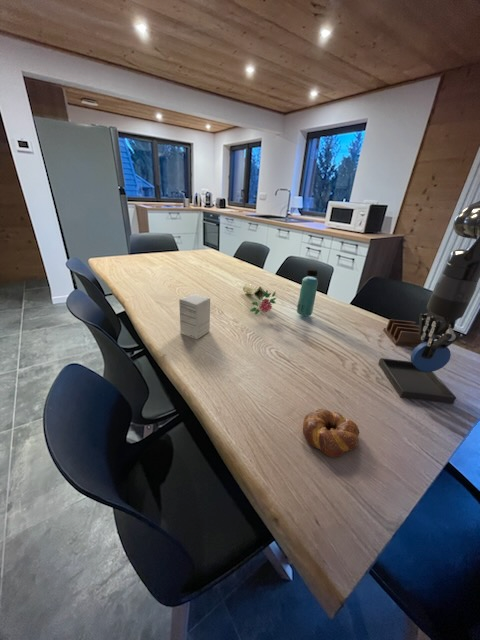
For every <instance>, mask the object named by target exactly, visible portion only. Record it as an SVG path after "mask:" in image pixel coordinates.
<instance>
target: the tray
mask: <svg viewBox="0 0 480 640" xmlns="http://www.w3.org/2000/svg"><path fill="white" fill-rule="evenodd" d="M378 365H379V367H380V369H381V370H382V372H383V373H384V375H385V376H386V378H387V379H388V381H389V383H390V384H391V385H392V387H393V388H394V390H395V392H396V393H397V394H398V396H399V397H400V398H402V399H410V400H419V401H426V402H434V403H435V402H436V403H443V404H451V405H453V404H454V403H455V401H456V400H457V396H456V395H455V394H454V393H453V392H452V391H451V390H450V389H449V388H448V387H447V386H446V385H445V384H444V383H443V382H442V380H441V379H440V378H439V376H437V375H436V374H435V373H434V371H432V372H424V371H421V370H419V369H417V368H416V367H415V366H414V365H413V363H412V362H411V360H410V361H409V360H401V359H400V360H399V359H391V358H382V357H380V358H379V360H378Z"/></svg>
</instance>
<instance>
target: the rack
mask: <svg viewBox="0 0 480 640" xmlns="http://www.w3.org/2000/svg"><path fill="white" fill-rule="evenodd" d="M383 332H384V334H386V336H387V337H388V338H389V339H390V340H391V342H392V343H393V344H394V345H395V346H404V347H412V348H416V347H417V346H418V345H420V344H421V341H422V340H421V335H419V334H418V332H419V324H418V325H417V322H416V321H410V320H401V319H391V318H390V319H389V320H388V322H387V325H386V327H384V328H383Z"/></svg>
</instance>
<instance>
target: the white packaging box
mask: <svg viewBox="0 0 480 640" xmlns="http://www.w3.org/2000/svg"><path fill="white" fill-rule="evenodd" d="M178 302H179V303H178V304H179V305H178V306H179V329H180V330H179V333H180V334H182V335H185V336H186V337H189V338H192V339H194V340H198V339H200V338H201V337H203V336H205V335H206V334H207V333H209V332H210V328H211V327H210V326H211V298H210V297H208V296H204V295H201V294H198V293H194V292H192V293H191V294H189V295H186V296H184V297H181V298H179V300H178Z"/></svg>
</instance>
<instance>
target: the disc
mask: <svg viewBox="0 0 480 640" xmlns="http://www.w3.org/2000/svg"><path fill="white" fill-rule="evenodd" d="M436 341H437V340H434V342H436ZM427 343H428V341H426V342H423V343H421V344H420V345H418V346H417V347H414V349H413V350H412V352H411V354H410V362H412V363H413V365H414V366H415V367H416V368H417V369H419V370H421V371H424V372H435V371H436V372H437V371H439V370H441V369H442V368H444V367H445V366H446V365H447V364H448V363H449V362H450V360H451V355H452V354H451V350H450V348H449V346H448V347H446V348H445V349H439V348H437V349H436V351H435V353H434V355H433V357H432V358H431V359H425V358H423V357H422V354H423V352H424V350H425V348H426V345H427Z"/></svg>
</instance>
